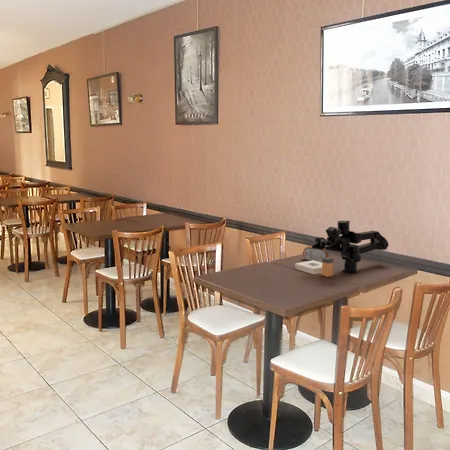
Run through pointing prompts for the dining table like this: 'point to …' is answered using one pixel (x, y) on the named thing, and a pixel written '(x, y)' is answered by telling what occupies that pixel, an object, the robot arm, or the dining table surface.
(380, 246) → the robot arm
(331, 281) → the dining table surface
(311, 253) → the tin
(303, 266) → the socket block
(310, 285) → the dining table surface
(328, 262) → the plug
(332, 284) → the dining table surface
